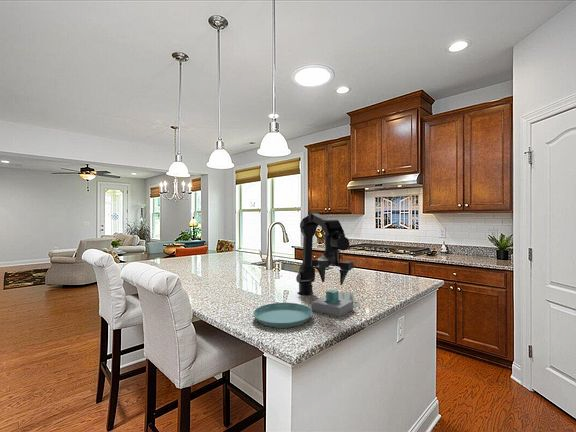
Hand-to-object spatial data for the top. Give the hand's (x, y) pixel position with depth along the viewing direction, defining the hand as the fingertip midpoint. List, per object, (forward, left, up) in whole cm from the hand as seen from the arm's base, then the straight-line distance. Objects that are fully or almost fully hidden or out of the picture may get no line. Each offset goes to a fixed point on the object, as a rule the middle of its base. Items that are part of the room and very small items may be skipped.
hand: (332, 283), depth 132 cm
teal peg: (0, 0, -11) cm, 11 cm away
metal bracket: (-2, +13, -13) cm, 18 cm away
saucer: (-11, -21, -12) cm, 27 cm away
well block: (0, 0, -12) cm, 12 cm away
